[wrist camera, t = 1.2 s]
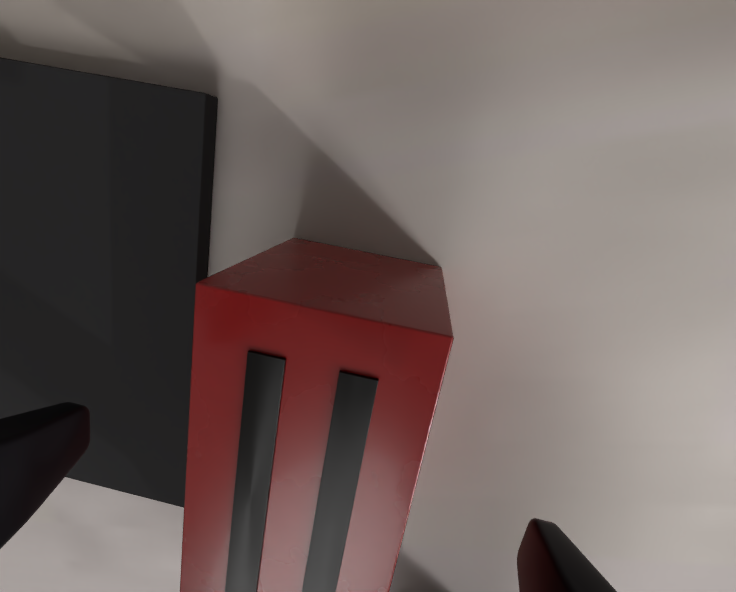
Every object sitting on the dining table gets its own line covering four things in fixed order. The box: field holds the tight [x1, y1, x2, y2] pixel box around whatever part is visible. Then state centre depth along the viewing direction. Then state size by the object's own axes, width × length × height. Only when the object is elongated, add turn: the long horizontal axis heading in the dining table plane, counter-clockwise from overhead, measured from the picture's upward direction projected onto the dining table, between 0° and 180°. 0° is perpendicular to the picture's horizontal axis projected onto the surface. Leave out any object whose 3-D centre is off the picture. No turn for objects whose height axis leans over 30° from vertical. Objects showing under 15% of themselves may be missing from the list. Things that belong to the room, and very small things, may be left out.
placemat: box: [0, 58, 218, 507], centre depth 20 cm, size 20×15×1 cm
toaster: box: [180, 238, 454, 592], centre depth 16 cm, size 13×6×8 cm, turn 170°
